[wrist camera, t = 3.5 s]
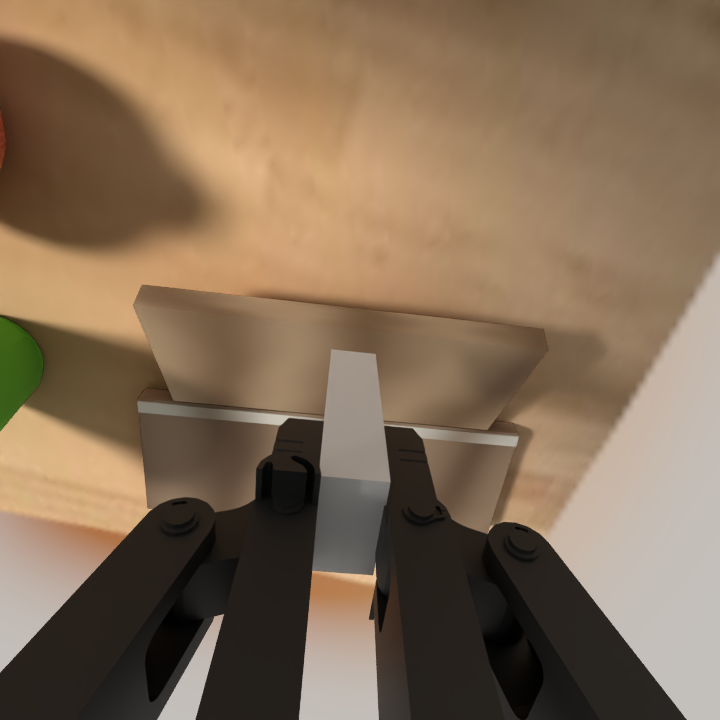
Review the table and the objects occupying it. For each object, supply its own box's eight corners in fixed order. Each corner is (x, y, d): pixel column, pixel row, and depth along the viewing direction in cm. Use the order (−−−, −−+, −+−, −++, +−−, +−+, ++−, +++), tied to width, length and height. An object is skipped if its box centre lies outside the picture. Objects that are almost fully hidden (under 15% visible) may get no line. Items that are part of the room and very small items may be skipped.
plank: (180, 385, 27) (174, 403, 26) (141, 284, 20) (132, 305, 19) (483, 414, 28) (485, 432, 27) (543, 328, 21) (548, 349, 20)
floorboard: (154, 495, 30) (146, 509, 29) (146, 388, 27) (136, 399, 26) (482, 521, 32) (487, 535, 30) (512, 422, 28) (519, 434, 27)
